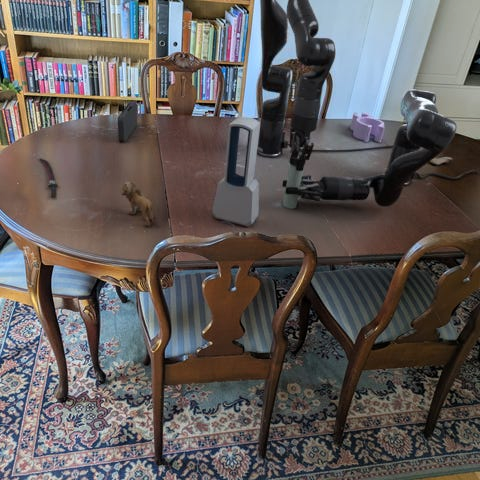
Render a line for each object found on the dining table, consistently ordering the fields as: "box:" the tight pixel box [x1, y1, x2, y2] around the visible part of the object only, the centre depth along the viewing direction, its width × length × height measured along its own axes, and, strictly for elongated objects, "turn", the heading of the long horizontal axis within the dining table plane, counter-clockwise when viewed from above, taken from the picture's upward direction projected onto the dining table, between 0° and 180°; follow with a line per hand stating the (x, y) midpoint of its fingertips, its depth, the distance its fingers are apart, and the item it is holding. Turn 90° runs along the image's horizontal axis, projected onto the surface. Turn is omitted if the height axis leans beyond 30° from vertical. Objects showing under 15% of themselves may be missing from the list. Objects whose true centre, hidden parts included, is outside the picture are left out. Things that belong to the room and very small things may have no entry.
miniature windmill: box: [285, 61, 301, 122], centre depth 208 cm, size 9×8×30 cm
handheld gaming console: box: [117, 100, 138, 142], centre depth 188 cm, size 23×3×10 cm, turn 178°
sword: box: [40, 158, 59, 198], centre depth 151 cm, size 31×3×1 cm, turn 26°
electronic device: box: [211, 116, 261, 227], centre depth 132 cm, size 12×8×30 cm, turn 71°
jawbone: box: [429, 156, 453, 166], centre depth 197 cm, size 9×20×2 cm, turn 50°
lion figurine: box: [119, 181, 159, 227], centre depth 134 cm, size 15×5×9 cm, turn 50°
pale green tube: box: [282, 163, 304, 209], centre depth 146 cm, size 4×4×16 cm
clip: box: [349, 112, 386, 143], centre depth 214 cm, size 20×12×7 cm, turn 11°
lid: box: [288, 154, 307, 166], centre depth 142 cm, size 5×5×2 cm
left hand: (296, 166), depth 143 cm, fingers closed on lid, 4 cm apart
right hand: (284, 187), depth 147 cm, fingers closed on pale green tube, 4 cm apart
